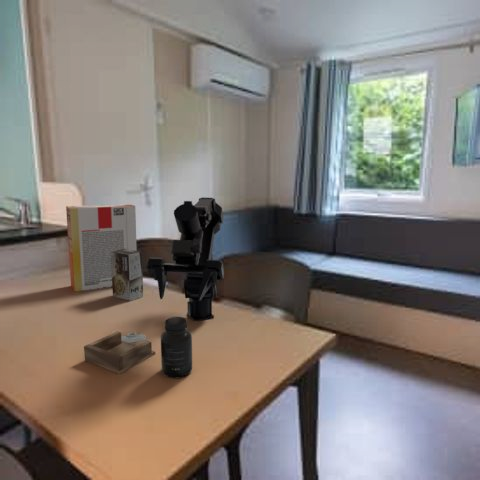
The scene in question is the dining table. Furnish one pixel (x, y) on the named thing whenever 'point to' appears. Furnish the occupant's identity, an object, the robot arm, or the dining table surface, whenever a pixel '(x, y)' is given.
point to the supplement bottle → (176, 348)
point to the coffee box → (127, 274)
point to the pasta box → (97, 241)
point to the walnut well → (116, 353)
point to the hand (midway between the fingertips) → (179, 299)
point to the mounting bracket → (133, 338)
